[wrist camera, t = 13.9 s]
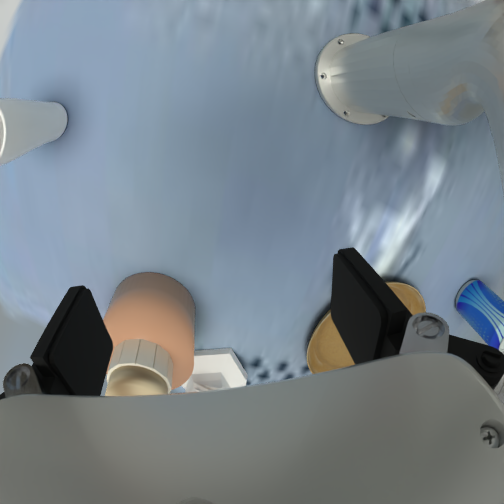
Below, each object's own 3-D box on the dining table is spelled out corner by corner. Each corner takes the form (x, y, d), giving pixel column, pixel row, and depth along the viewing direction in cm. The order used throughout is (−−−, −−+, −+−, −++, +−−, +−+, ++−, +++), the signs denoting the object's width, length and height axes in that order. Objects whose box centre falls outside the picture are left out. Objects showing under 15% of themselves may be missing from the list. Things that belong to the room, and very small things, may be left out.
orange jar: (185, 266, 42) (177, 340, 29) (202, 336, 48) (203, 412, 34) (101, 278, 41) (67, 348, 28) (128, 343, 47) (111, 415, 34)
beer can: (482, 288, 54) (525, 329, 39) (459, 315, 56) (499, 360, 42) (473, 270, 51) (522, 313, 36) (448, 299, 53) (493, 348, 39)
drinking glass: (64, 152, 32) (-3, 182, 19) (27, 138, 30) (-44, 162, 17) (81, 103, 30) (14, 107, 17) (42, 91, 28) (-30, 94, 15)
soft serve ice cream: (170, 383, 55) (148, 433, 41) (197, 327, 51) (174, 378, 37) (228, 408, 55) (217, 462, 42) (263, 357, 51) (259, 414, 38)
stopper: (160, 341, 33) (154, 384, 27) (176, 379, 36) (173, 420, 30) (106, 345, 32) (94, 386, 27) (126, 382, 36) (119, 421, 30)
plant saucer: (429, 263, 48) (439, 272, 45) (403, 357, 59) (409, 367, 56) (303, 285, 46) (309, 298, 43) (300, 383, 57) (304, 396, 54)
